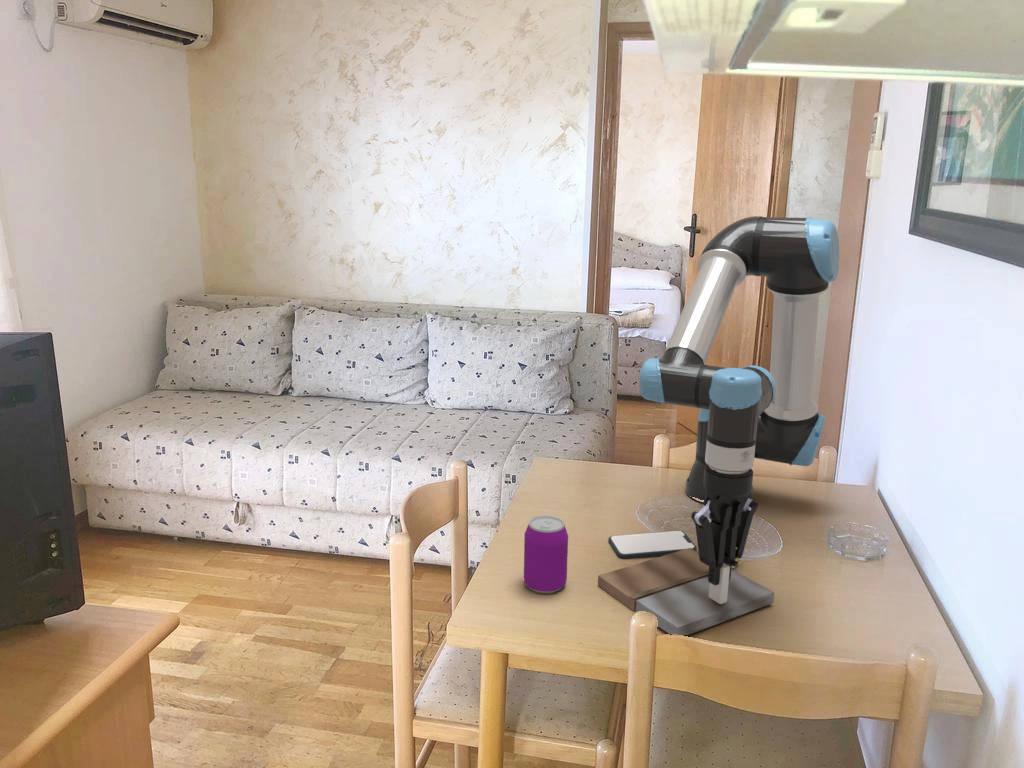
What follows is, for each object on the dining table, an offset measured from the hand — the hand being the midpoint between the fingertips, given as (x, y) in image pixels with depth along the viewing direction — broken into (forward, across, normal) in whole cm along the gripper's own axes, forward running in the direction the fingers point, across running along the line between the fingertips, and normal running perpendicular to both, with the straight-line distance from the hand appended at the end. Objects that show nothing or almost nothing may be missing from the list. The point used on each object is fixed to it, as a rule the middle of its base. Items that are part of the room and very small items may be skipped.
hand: (717, 599), depth 133 cm
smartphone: (+4, +8, +25) cm, 26 cm away
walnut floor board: (+3, 0, +13) cm, 13 cm away
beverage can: (+3, -19, +23) cm, 30 cm away
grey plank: (+3, 0, +2) cm, 4 cm away
